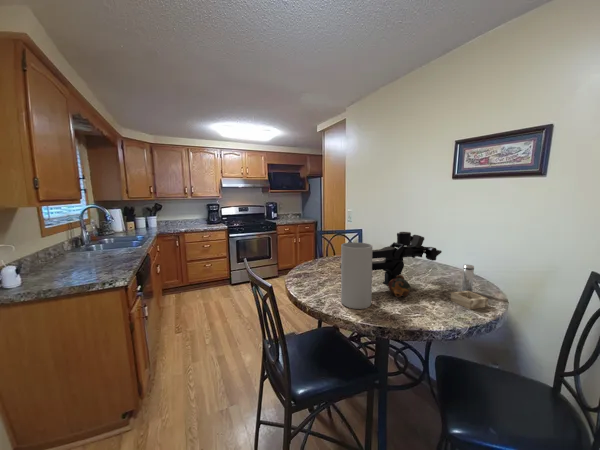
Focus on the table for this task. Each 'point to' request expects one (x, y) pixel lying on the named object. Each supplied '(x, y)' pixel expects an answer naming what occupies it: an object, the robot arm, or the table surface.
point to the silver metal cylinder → (467, 278)
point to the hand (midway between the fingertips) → (434, 249)
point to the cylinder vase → (356, 275)
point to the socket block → (469, 299)
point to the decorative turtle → (399, 286)
